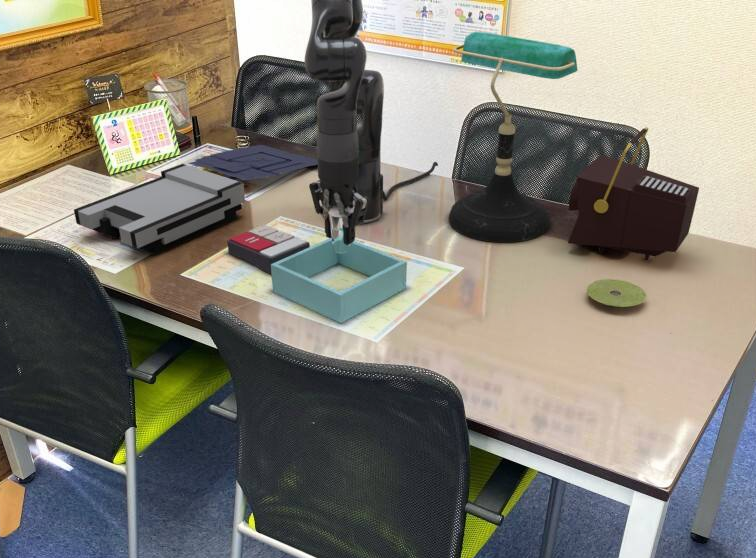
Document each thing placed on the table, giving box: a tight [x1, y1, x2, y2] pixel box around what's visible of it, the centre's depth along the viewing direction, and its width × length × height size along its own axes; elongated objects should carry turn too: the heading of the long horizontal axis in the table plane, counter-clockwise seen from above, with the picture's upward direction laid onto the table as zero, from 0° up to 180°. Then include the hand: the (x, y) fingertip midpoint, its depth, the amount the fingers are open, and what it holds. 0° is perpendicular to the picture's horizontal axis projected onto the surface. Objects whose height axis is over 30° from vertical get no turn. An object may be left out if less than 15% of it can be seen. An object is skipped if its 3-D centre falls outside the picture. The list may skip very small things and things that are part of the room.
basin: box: [270, 238, 408, 324], centre depth 172 cm, size 19×19×6 cm
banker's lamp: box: [448, 31, 578, 243], centre depth 189 cm, size 26×23×40 cm
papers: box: [187, 144, 318, 181], centre depth 228 cm, size 24×30×4 cm
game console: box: [73, 163, 246, 256], centre depth 197 cm, size 21×32×8 cm, turn 141°
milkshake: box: [323, 202, 350, 253], centre depth 166 cm, size 4×5×10 cm
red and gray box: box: [226, 224, 311, 275], centre depth 185 cm, size 11×4×15 cm
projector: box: [567, 126, 700, 262], centre depth 181 cm, size 16×23×25 cm
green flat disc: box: [586, 278, 647, 308], centre depth 169 cm, size 11×11×2 cm
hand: (339, 239), depth 167 cm, fingers closed on milkshake, 4 cm apart
